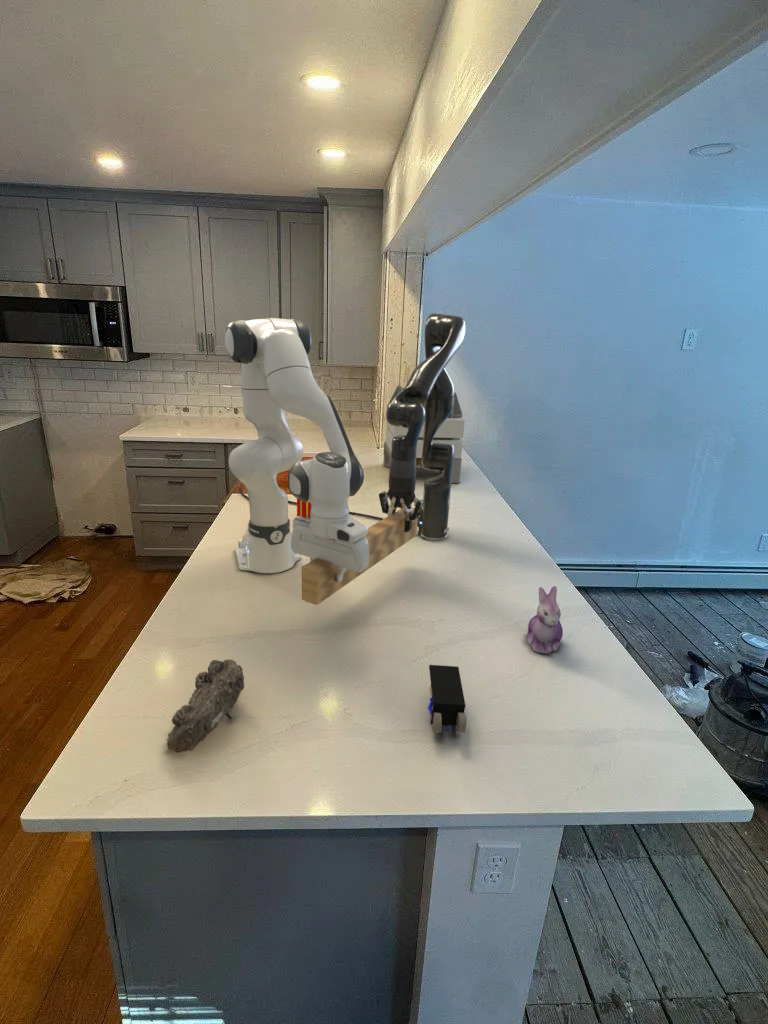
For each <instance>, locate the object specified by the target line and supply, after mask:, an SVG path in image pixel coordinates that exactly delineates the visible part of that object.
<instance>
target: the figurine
mask: <svg viewBox="0 0 768 1024" xmlns="http://www.w3.org/2000/svg"><path fill="white" fill-rule="evenodd" d="M557 592H558V588H557V586H556V585H553V586H551V588H550V590H549V593H548V594H547V592H546V591H545V589H544V588H543V587H542V586H539V587H538V601H539V603H538V604H539V605H538V606H537V609H536V614H535V615H534V616H532V617H531V618H530V619H529V621H528V625H527V634H526V641H527V644H528V645H529V646H530V647H531V648H532V650H533V651H534V652H535V653H540V654H545V655H546V654H550V653H551V652H556V651H557V650H558V649H559V647H560V644H561V640H562V638H563V637H564V636H563V635H564V633H563V632H564V630H563V626H562V624H561V621H560V620H561V615H562V614H561V609H560V607H559V604H558V603H557Z"/></svg>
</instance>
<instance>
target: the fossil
mask: <svg viewBox="0 0 768 1024" xmlns="http://www.w3.org/2000/svg"><path fill="white" fill-rule="evenodd" d="M243 670H244V669H243V667H242V665H240V664H237V662H236V661H235V660H234V659H232V658H231V659H227V658H226V659H224V660H223V661H222V660H217V659H212V660H211V661H210V663H209V665H208V666H207V671H201V672H199V673H198V674H197V675H196V676H195V680H194V684H195V685H194V687H195V689H194V690H193V693H192V694H191V697H190V698H189V700H188V704H184V705H182V706H181V707H180V709H177V710H176V711H175V713H174V715H173V716H172V718H171V723H172V724H173V727H172V730H171V731H170V732H168V734H167V738H166V741H167V742H166V745H167V749H168V750H169V751H173V752H174V753H176V754H178V753H182V752H188V751H189V752H192V751H193V750H195V748H196V747H197V746H199V744H200V743H201V742H203V741H204V740H205V739H206V738H207V737H208V736H209V735H210V734H211V733H212V732H214V730H215V729H217V727H218V726H219V724H220V722H221V721H222V720H223V719H224V718H225V716H226V717H227V719H229V720H233V717H232V715H230V714H229V710H230V709H231V708H234V706H235V704H236V703H237V702H238V699H239V697H240V695H241V693H242V691H243V690H245V689H244V688H245V675H244V671H243Z"/></svg>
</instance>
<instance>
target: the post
mask: <svg viewBox="0 0 768 1024" xmlns="http://www.w3.org/2000/svg"><path fill="white" fill-rule="evenodd" d="M414 509H415V507H412V513H413V512H414ZM383 518H384V517H383ZM405 520H406V518H405V514H404V513H403V509H401V508H399V509H398V510H396V512H395V513H393V514H391V515H390V516H388V515H387V516H385V518H384V519H383V520H379V521H377V522H375V523H374V524H372V525H371V526H369V527H367V528H368V533H367V535H366V536H364V537H365V538H366V539H367V541H368V544H369V565H368V566H367V567H366V568H365V569H364V570H362V571H361V572H355V571H352V570H349V569H347V570H346V571H345V572H344V574H343V580H342V581H341V582H340V583H339V582H336V581H334V574H336V573H338V572H339V571H340V570H338V566H336V565H333V564H332V562H328V561H325V560H321V559H318V558H316V559H314V560H312V561H311V562H310V561H309V562H307V563H306V564H304V565H302V566H301V601H304V602H306V603H310V604H313V605H315V606H318V605H319V604H321V603H323V602H324V601H325V600H327V599H328V598H330V597H331V596H332V595H334V594H335V593H337V592H338V591H339V590H341V589H342V588H344V587H345V586H347V585H348V584H349V583H351V582H352V581H354V580H355V579H357V578H358V577H359V576H361V575H363V574H364V573H365V572H367V571H368V570H369V569H371V568H372V567H374V566H375V565H377V564H378V563H379V562H381V561H382V560H384V559H386V557H388V556H389V555H390V554H392V553H394V552H395V551H396V550H398V549H400V548H401V547H402V546H403V545H405V544H406V543H408V542H409V541H411V540H412V539H414V538H415V537H416V536H417V535H418V527H417V524H418V518H416V519H415V520H412V528H411V530H410V531H409V532H407V533H406V532H404V529H405Z"/></svg>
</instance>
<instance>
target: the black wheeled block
mask: <svg viewBox="0 0 768 1024" xmlns="http://www.w3.org/2000/svg"><path fill="white" fill-rule="evenodd" d="M428 670H429V677H430V678H429V679H430V686H429V694H430V698H429V701H430V702H429V704H428V705H427V709H428V712H429V714H430V725H432V732H433V734H437V736H438V737H439V738H441V737H442V728H443V727H449V726H450V727H451V734H452V737H454V738H456V737H457V736H458V734H457V733H459V734H465V733H466V731H467V716H466V713H465V710H466V700H465V694H464V690H463V685H462V679H461V678H462V677H461V673H460V667H459V666H453V665H442V664H441V665H440V664H439V665H438V664H429V666H428ZM442 726H443V727H442Z"/></svg>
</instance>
